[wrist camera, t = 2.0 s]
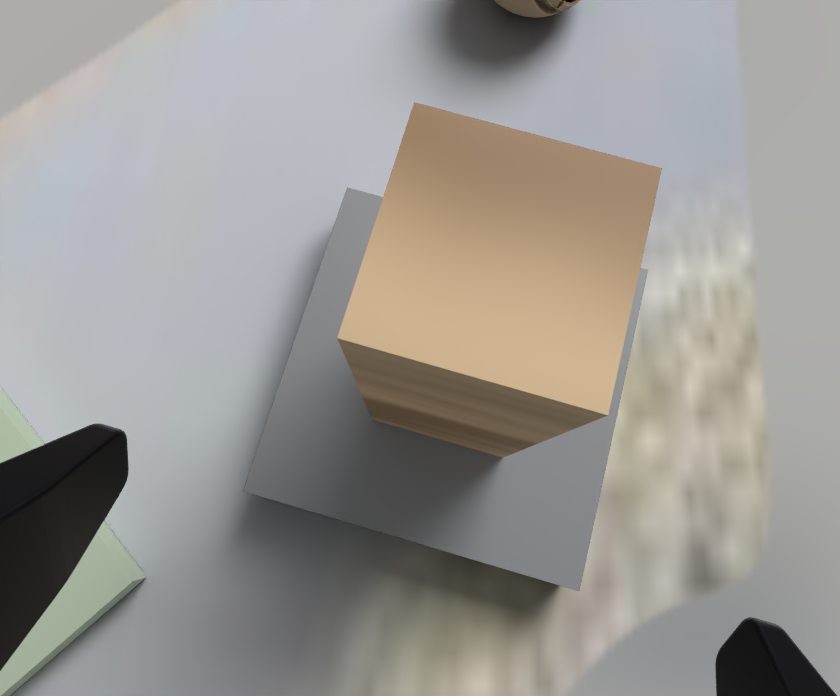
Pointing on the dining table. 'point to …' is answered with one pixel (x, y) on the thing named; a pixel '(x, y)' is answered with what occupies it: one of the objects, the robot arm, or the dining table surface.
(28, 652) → the sage mat
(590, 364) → the oak block
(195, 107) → the dining table surface
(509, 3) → the door knob
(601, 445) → the grey block
